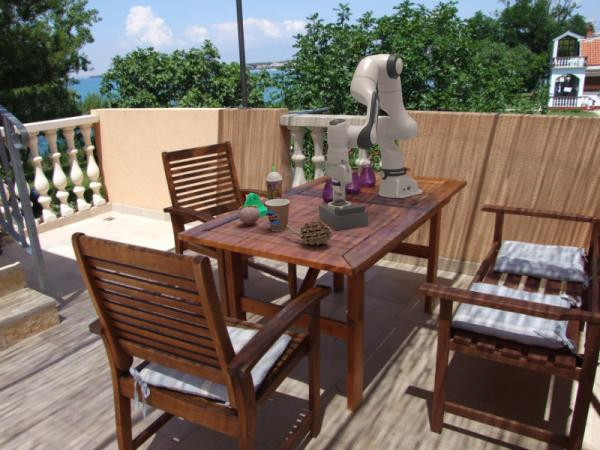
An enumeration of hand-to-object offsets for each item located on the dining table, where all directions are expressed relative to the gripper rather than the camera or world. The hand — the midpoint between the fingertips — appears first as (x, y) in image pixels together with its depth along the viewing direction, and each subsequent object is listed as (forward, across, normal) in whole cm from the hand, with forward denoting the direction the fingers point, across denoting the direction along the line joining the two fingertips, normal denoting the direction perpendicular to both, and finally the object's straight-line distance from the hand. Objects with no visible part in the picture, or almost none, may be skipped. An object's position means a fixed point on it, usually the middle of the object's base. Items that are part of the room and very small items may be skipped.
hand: (339, 189), depth 226 cm
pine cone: (+14, -22, +24) cm, 35 cm away
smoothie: (+14, +37, +18) cm, 44 cm away
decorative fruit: (+14, +13, +38) cm, 43 cm away
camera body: (+14, -3, 0) cm, 14 cm away
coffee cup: (+14, +1, +28) cm, 31 cm away
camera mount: (+14, +27, +30) cm, 43 cm away
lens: (+5, 0, 0) cm, 5 cm away
